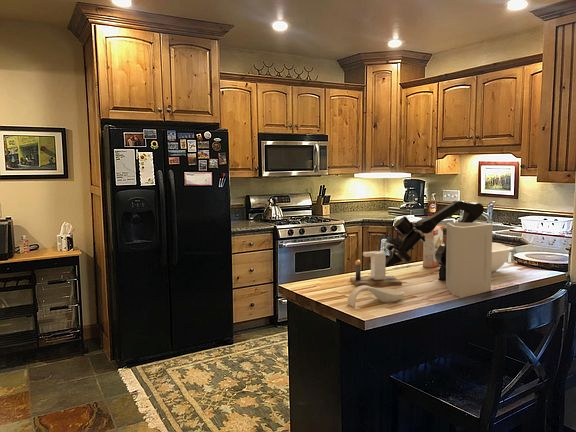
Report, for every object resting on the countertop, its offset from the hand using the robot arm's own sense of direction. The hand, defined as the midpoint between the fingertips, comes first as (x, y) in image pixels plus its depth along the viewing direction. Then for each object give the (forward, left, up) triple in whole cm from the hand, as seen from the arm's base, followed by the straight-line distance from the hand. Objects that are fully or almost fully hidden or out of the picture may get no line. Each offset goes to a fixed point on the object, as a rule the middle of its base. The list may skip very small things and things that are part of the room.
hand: (385, 266), depth 211 cm
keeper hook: (+9, +9, -6) cm, 14 cm away
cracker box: (-1, -49, -8) cm, 49 cm away
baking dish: (-23, -49, -8) cm, 54 cm away
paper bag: (-32, -8, -8) cm, 34 cm away
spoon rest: (-13, +31, -8) cm, 34 cm away
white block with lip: (+4, +4, -5) cm, 8 cm away
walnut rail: (+3, +3, -7) cm, 9 cm away
